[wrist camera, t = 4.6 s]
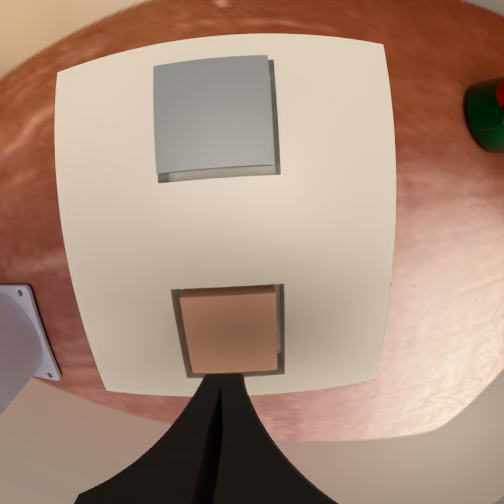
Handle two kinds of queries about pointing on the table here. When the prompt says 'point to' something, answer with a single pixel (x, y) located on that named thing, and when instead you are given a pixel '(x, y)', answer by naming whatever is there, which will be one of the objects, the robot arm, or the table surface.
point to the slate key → (212, 114)
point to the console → (232, 214)
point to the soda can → (487, 113)
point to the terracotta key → (231, 328)
